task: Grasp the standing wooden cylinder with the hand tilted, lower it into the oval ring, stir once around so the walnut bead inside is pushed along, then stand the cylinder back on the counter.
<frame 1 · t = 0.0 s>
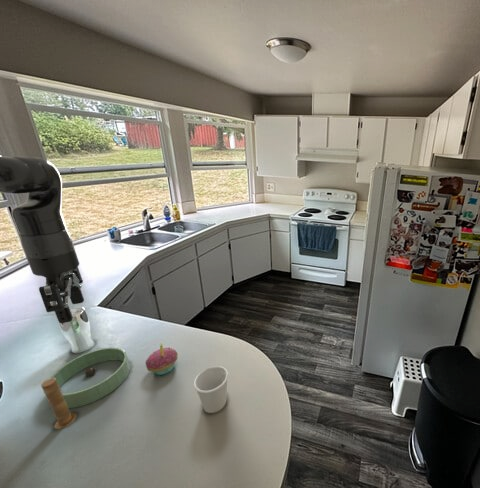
hand: (72, 311, 61), 29 cm above the table, tool pointing down, fingers open, 8 cm apart
oval ring: (95, 382, 75), on the table
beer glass: (84, 349, 87), on the table
dixie cup: (215, 405, 70), on the table
walnut bead: (90, 372, 76), point 2 cm above the table, touching oval ring
wooden cylinder: (66, 423, 64), on the table
cupcake: (164, 370, 80), on the table
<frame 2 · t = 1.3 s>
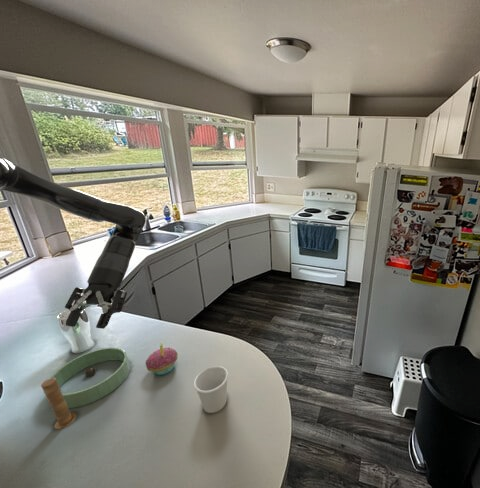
hand: (85, 327, 67), 21 cm above the table, tool tilted 45°, fingers open, 8 cm apart
nothing on the table moved.
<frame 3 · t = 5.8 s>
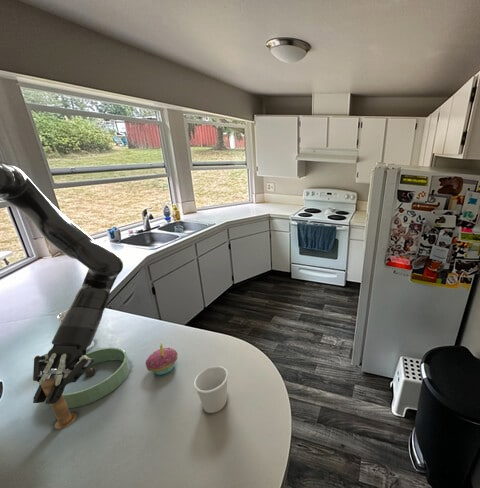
hand: (45, 402, 59), 10 cm above the table, tool tilted 45°, fingers closed on wooden cylinder, 2 cm apart
wooden cylinder: (67, 423, 64), on the table, touching gripper
everything else where it was.
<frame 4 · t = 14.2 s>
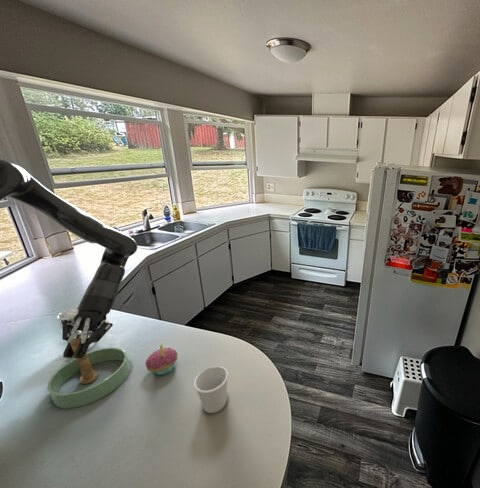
hand: (72, 357, 70), 11 cm above the table, tool tilted 45°, fingers closed on wooden cylinder, 2 cm apart
walnut bead: (84, 370, 77), point 2 cm above the table, tilted 117°, touching oval ring
wooden cylinder: (89, 378, 75), point 1 cm above the table, touching gripper
everything else where it was.
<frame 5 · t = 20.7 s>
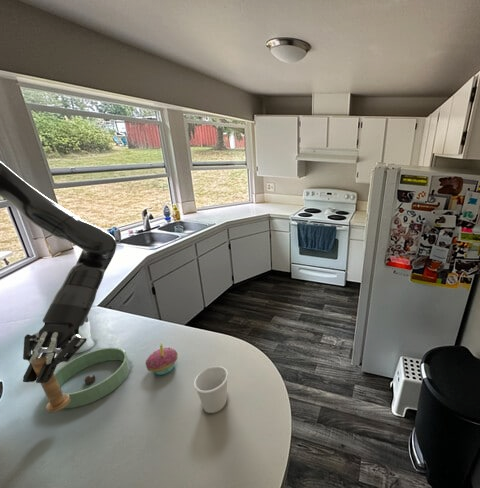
hand: (35, 381, 56), 16 cm above the table, tool tilted 45°, fingers closed on wooden cylinder, 2 cm apart
walnut bead: (90, 379, 74), point 2 cm above the table, tilted 146°, touching oval ring
wooden cylinder: (59, 404, 62), point 6 cm above the table, touching gripper
everything else where it was.
when the fingers open (10 cm above the table, at t = 22.7 s): wooden cylinder stays where it is, on the table.
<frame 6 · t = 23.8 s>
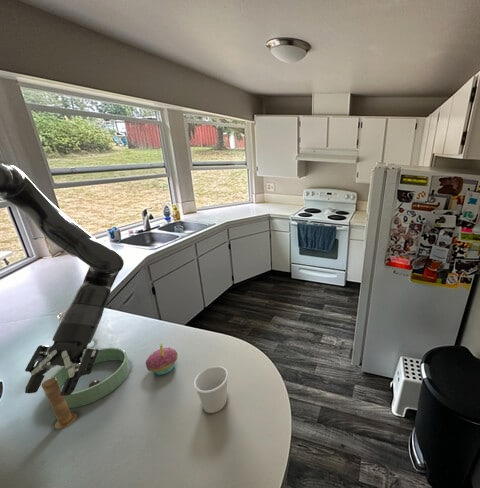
hand: (47, 394, 59), 11 cm above the table, tool tilted 45°, fingers open, 8 cm apart
walnut bead: (94, 384, 72), point 2 cm above the table, tilted 57°, touching oval ring
wooden cylinder: (67, 423, 64), on the table
everything else where it was.
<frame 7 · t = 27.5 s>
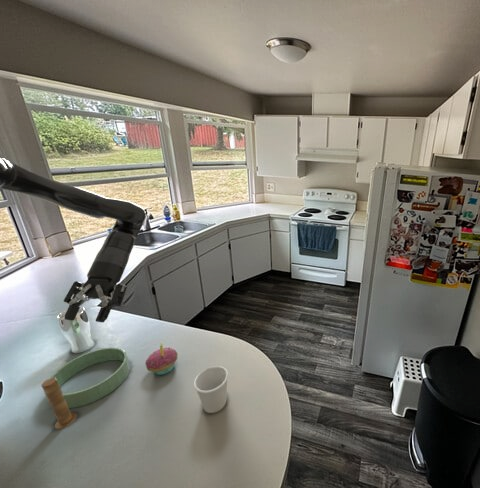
hand: (84, 321, 67), 23 cm above the table, tool tilted 45°, fingers open, 8 cm apart
walnut bead: (100, 391, 71), point 2 cm above the table, tilted 120°, touching oval ring
everything else where it was.
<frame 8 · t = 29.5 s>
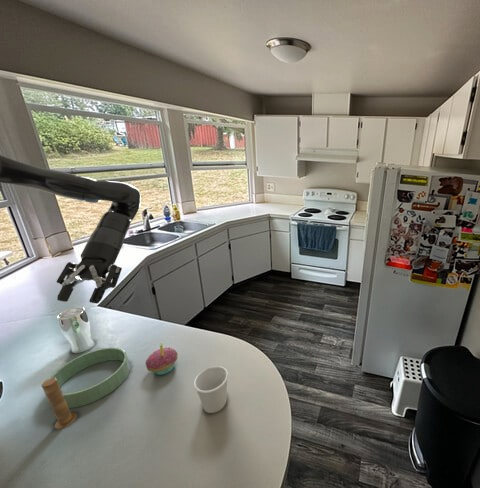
hand: (77, 302, 65), 29 cm above the table, tool tilted 45°, fingers open, 8 cm apart
walnut bead: (99, 390, 71), point 2 cm above the table, tilted 107°, touching oval ring
everything else where it was.
at the end: walnut bead moved 10.0 cm from its start; wooden cylinder inside the target area (0.1 cm from its centre), on the table; wooden cylinder tilted 0° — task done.
